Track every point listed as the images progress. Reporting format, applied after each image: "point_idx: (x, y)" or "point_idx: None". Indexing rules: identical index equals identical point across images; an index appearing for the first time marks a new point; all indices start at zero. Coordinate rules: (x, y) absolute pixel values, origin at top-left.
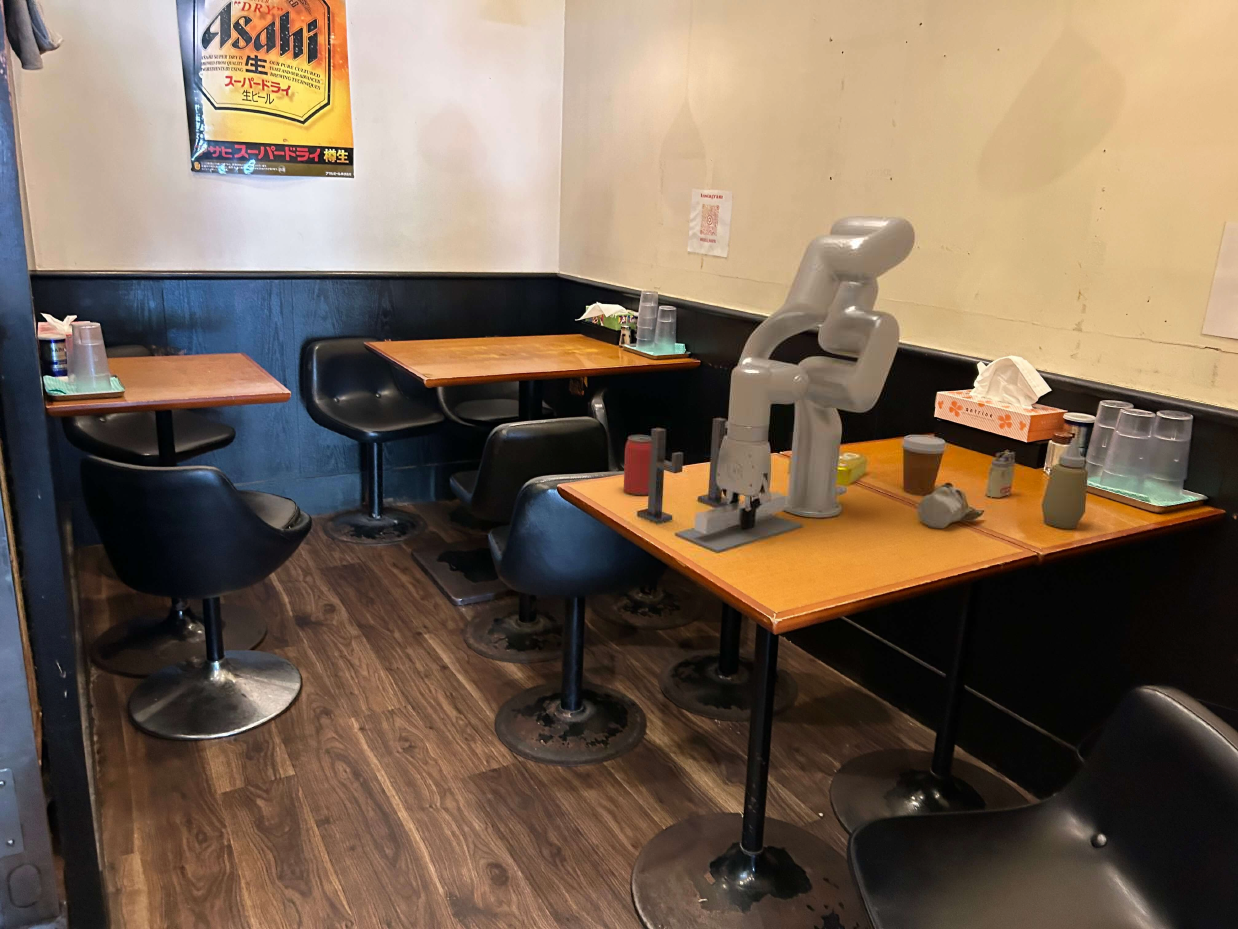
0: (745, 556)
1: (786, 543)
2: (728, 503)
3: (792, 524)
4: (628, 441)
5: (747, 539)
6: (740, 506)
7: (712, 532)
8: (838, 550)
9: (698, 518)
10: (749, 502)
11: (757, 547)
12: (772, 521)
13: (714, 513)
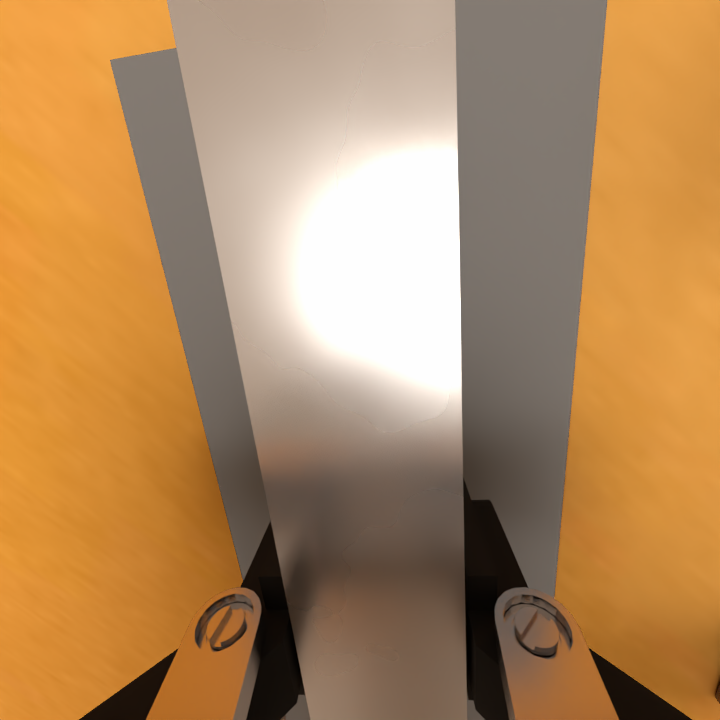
0: (30, 219)
1: (141, 534)
2: (511, 596)
3: (301, 697)
4: None
5: (218, 398)
6: (333, 611)
7: None
8: (11, 628)
9: None
10: (154, 709)
11: (138, 383)
12: None
13: (288, 172)
